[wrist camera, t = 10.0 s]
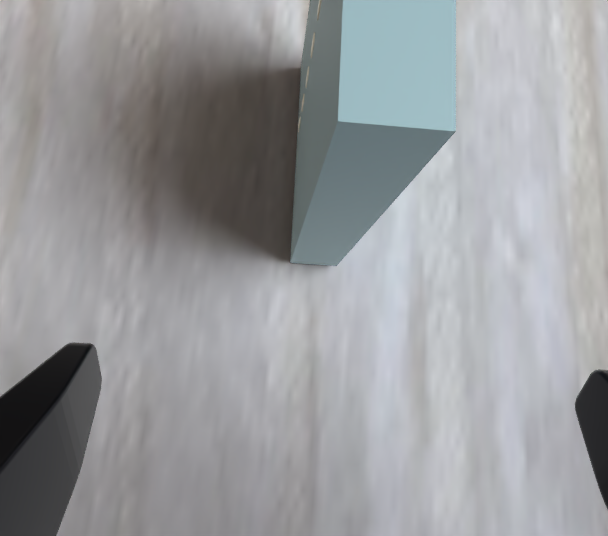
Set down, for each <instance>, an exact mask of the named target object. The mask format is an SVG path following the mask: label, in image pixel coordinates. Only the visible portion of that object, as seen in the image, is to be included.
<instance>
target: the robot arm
mask: <svg viewBox="0 0 608 536" xmlns="http://www.w3.org/2000/svg"><path fill="white" fill-rule="evenodd" d="M101 382H102V378H101V372H100V366H99V361H98V356H97V350H96V348H95V346H94V345H93V344H90V343H69V344H67V345H65V346H64V347H63V348H61V349H60V350H59V351H58V352H56V353H55V354H54V355H53V356H51V357H50V358H49V359H47V360H46V361H45V362H44V363H42V364H41V365H40V366H39V367H37V368H36V369H35V370H34V371H32V372H31V373H30V374H28V375H27V376H26V377H25V378H23V379H22V380H21V381H20V382H18V383H17V384H16V385H14V386H13V387H12V388H11V389H9V390H8V391H7V392H6V393H4V394H3V395H2V396H1V397H0V536H56V535H57V532H58V529H59V527H60V524H61V521H62V519H63V516H64V513H65V511H66V508H67V505H68V503H69V500H70V497H71V495H72V492H73V490H74V487H75V484H76V481H77V478H78V475H79V472H80V469H81V465H82V462H83V458H84V454H85V450H86V446H87V442H88V438H89V434H90V430H91V426H92V422H93V418H94V414H95V410H96V406H97V402H98V398H99V394H100V390H101ZM575 410H576V414H577V418H578V421H579V424H580V428H581V431H582V434H583V438H584V441H585V444H586V447H587V451H588V454H589V457H590V461H591V464H592V467H593V471H594V474H595V477H596V480H597V483H598V486H599V489H600V492H601V494H602V497H603V500H604V502H605V505H606V507H607V509H608V370H595V371H594V372H592V373H591V374H590V376H589V378H588V379H587V381H586V383H585V384H584V386H583V388H582V390H581V391H580V393H579V395H578V396H577V398H576V402H575Z"/></svg>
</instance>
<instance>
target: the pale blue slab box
mask: <svg viewBox="0 0 608 536" xmlns="http://www.w3.org/2000/svg"><path fill="white" fill-rule="evenodd" d="M455 132H456V0H310V5H309V12H308V19H307V26H306V34H305V41H304V48H303V55H302V62H301V79H300V97H299V115H298V133H297V151H296V169H295V187H294V205H293V222H292V240H291V258H290V263H299V264H314V265H330V266H337V265H338V264H339V262H340V261H341V260H342V259H343V258H344V257H345V256H346V255H347V253H348V252H349V251H350V250H351V249H352V248H353V247H354V246H355V244H356V243H357V242H358V241H359V240H360V239H361V238H362V237H363V235H364V234H365V233H366V232H367V231H368V230H369V229H370V227H371V226H372V225H373V224H374V223H375V222H376V221H377V220H378V218H379V217H380V216H381V215H382V214H383V213H384V212H385V211H386V209H387V208H388V207H389V206H390V205H391V204H392V203H393V202H394V200H395V199H396V198H397V197H398V196H399V195H400V194H401V192H402V191H403V190H404V189H405V188H406V187H407V186H408V185H409V183H410V182H411V181H412V180H413V179H414V178H415V177H416V176H417V174H418V173H419V172H420V171H421V170H422V169H423V168H424V167H425V165H426V164H427V163H428V162H429V161H430V160H431V159H432V158H433V156H434V155H435V154H436V153H437V152H438V151H439V150H440V148H441V147H442V146H443V145H444V144H445V143H446V142H447V141H448V139H449V138H450V137H451V136H452V135H453V134H454V133H455Z"/></svg>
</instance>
